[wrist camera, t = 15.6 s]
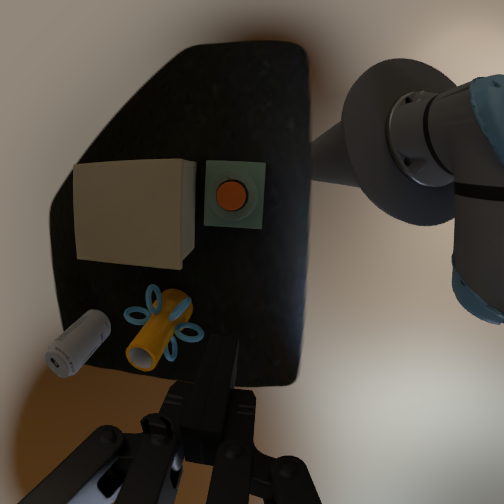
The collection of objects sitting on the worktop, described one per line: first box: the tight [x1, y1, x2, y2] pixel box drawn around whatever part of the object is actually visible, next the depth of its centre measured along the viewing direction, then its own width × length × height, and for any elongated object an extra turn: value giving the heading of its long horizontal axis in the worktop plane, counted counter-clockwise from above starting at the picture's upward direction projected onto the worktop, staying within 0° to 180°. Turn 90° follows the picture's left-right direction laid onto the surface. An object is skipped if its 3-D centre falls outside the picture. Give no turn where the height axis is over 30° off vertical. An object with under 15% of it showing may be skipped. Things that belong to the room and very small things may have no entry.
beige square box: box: [182, 160, 197, 260], centre depth 36 cm, size 15×13×9 cm
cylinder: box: [124, 284, 204, 371], centre depth 37 cm, size 12×10×15 cm
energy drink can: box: [45, 310, 111, 378], centre depth 39 cm, size 6×6×15 cm
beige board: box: [73, 159, 184, 270], centre depth 31 cm, size 15×13×1 cm
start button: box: [217, 181, 246, 211], centre depth 35 cm, size 4×4×2 cm
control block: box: [204, 161, 266, 229], centre depth 37 cm, size 8×9×4 cm
